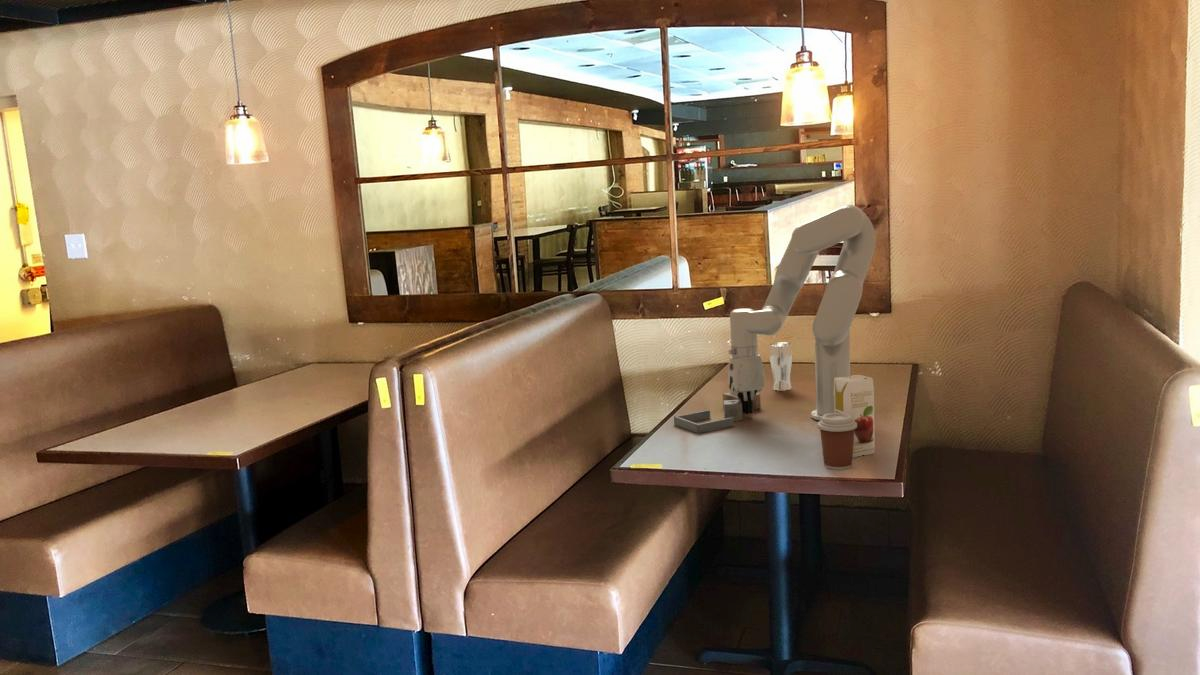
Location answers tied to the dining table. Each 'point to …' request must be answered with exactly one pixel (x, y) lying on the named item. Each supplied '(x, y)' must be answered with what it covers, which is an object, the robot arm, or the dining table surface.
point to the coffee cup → (837, 440)
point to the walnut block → (729, 397)
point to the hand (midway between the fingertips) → (747, 412)
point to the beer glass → (781, 365)
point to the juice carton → (857, 409)
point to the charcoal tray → (688, 423)
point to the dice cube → (733, 409)
